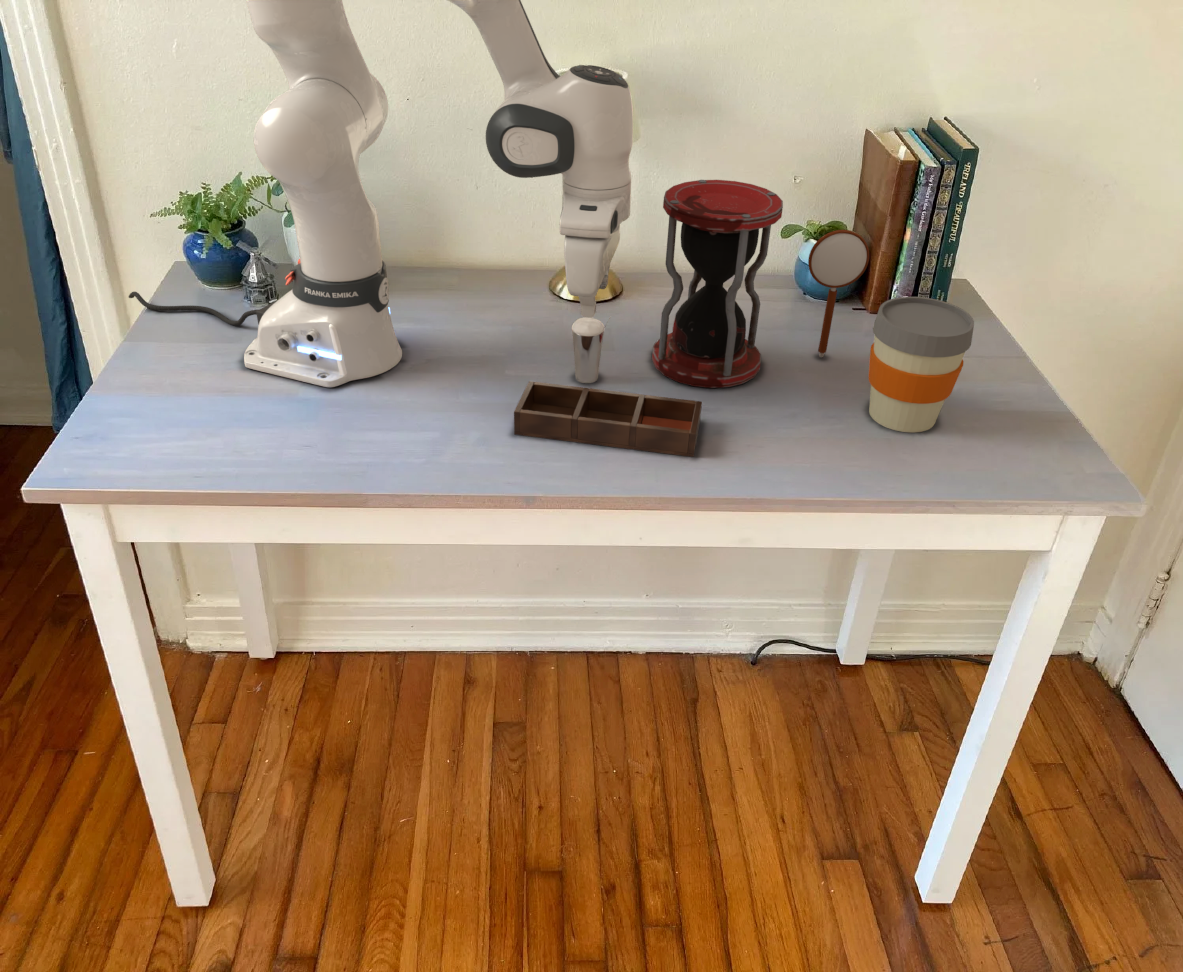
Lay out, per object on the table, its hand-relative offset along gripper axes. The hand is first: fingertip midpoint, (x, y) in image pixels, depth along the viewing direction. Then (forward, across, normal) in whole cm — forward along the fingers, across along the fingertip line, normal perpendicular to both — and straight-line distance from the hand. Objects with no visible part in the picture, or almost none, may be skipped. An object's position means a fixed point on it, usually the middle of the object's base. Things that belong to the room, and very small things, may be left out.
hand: (594, 300), depth 137 cm
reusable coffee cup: (+13, 0, +43) cm, 45 cm away
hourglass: (+13, -9, +15) cm, 22 cm away
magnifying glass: (+13, -15, +32) cm, 38 cm away
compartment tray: (+12, +13, +4) cm, 18 cm away
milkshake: (+12, 0, -1) cm, 12 cm away
